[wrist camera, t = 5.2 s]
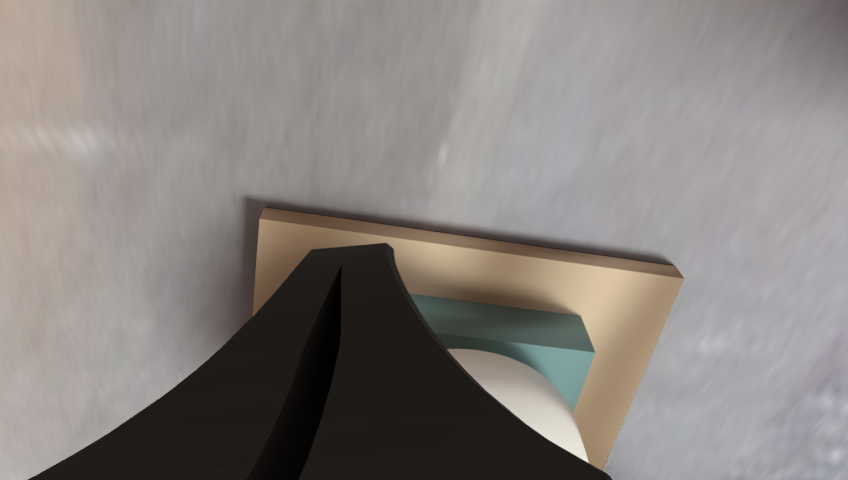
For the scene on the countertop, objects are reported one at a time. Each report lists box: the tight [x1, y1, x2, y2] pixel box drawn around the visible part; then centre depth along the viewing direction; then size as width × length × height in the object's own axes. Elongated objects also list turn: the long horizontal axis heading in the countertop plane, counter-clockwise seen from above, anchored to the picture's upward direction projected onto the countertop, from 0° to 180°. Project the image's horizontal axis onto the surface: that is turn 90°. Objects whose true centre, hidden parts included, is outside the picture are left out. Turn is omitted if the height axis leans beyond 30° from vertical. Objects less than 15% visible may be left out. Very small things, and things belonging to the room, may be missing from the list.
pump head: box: [447, 349, 589, 463], centre depth 23 cm, size 8×8×4 cm
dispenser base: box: [252, 207, 684, 471], centre depth 24 cm, size 14×12×3 cm
